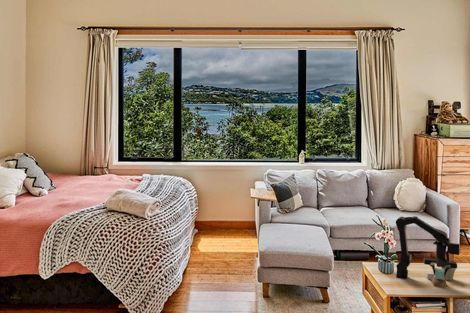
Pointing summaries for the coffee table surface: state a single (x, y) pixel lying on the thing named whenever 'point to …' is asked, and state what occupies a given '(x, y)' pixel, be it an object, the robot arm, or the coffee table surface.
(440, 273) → the teal block
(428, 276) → the grey block
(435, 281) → the walnut base block
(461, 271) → the coffee table surface
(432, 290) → the coffee table surface
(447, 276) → the flower pot
